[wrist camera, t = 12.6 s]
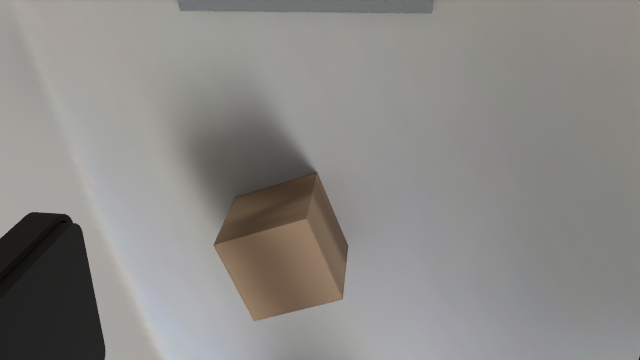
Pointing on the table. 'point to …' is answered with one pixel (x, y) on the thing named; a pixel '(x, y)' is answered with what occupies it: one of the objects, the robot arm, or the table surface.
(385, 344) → the table surface
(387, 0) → the slate coaster
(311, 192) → the walnut block
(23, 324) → the robot arm
